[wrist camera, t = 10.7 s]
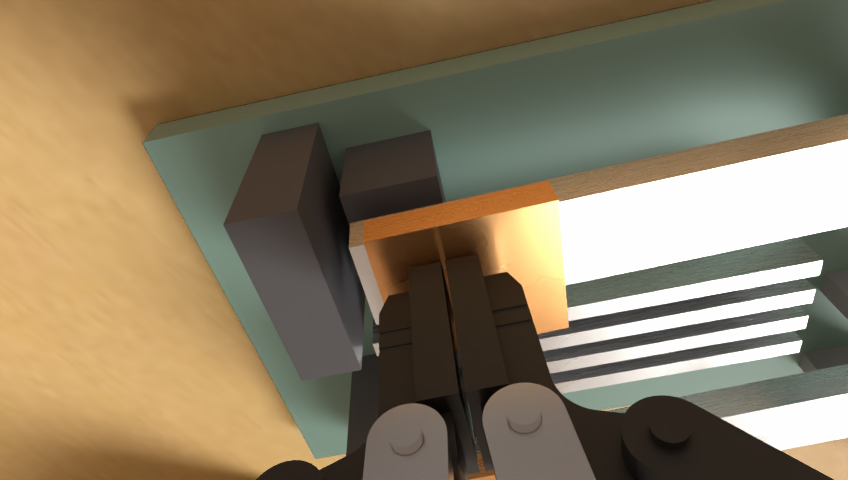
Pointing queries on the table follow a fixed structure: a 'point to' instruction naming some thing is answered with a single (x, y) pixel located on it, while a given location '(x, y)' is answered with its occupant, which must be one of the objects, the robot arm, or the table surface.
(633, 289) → the heatsink block
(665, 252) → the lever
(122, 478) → the table surface
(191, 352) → the table surface
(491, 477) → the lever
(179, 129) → the socket board
